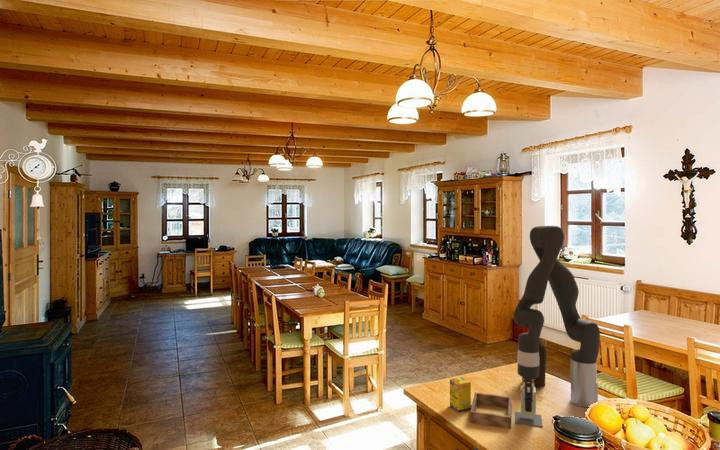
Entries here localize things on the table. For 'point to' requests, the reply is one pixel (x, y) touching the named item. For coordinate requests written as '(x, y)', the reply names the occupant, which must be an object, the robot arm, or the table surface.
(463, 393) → the supplement box
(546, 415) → the table surface
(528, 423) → the mat
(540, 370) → the olive oil
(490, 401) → the frame
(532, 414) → the block
